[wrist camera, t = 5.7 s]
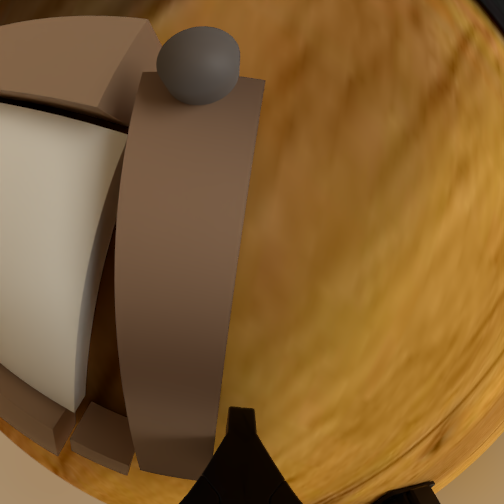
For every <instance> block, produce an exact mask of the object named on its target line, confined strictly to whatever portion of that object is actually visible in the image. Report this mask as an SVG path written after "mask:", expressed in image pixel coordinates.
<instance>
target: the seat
mask: <svg viewBox="0 0 504 504" xmlns="http://www.w3.org/2000/svg"><path fill="white" fill-rule="evenodd" d="M161 48H162V45H161V44H160V42H159V40H158V38H157V36H156V34H155V32H154V30H153V28H152V26H151V24H150V22H149V20H148V19H141V18H130V17H115V16H69V17H55V18H45V19H36V20H30V21H23V22H18V23H12V24H8V25H3V26H0V98H7V99H13V100H19V101H24V102H30V103H35V104H40V105H45V106H49V107H54V108H58V109H63V110H67V111H71V112H75V113H79V114H83V115H87V116H91V117H95V118H99V119H102V120H106V121H109V122H113V123H116V124H120V125H123V126H127V127H129V126H130V121H131V116H132V112H133V107H134V103H135V99H136V95H137V91H138V87H139V83H140V80H141V76H142V72H157V68H156V61H157V56H158V54H159V51H160V50H161ZM127 136H128V135H127V134H124V133H121V132H118V131H114V130H111V129H108V128H104V127H101V126H97V125H94V124H90V123H87V122H83V121H79V120H75V119H72V118H68V117H64V116H60V115H56V114H51V113H47V112H43V111H39V110H34V109H29V108H25V107H20V106H15V105H9V104H4V103H0V417H1V418H3V419H4V420H5V421H6V422H8V423H9V424H10V425H11V426H13V427H14V428H15V429H17V430H18V431H20V432H21V433H22V434H24V435H25V436H27V437H28V438H29V439H31V440H32V441H34V442H35V443H37V444H39V445H40V446H42V447H43V448H45V449H46V450H48V451H50V452H51V453H53V454H55V455H56V456H58V455H59V454H60V452H61V450H62V448H63V446H64V444H65V442H66V441H67V439H68V437H69V435H70V433H71V432H72V430H73V428H74V426H75V424H76V410H77V408H78V406H79V405H80V403H81V401H82V400H83V398H84V397H85V392H86V376H87V364H88V354H89V345H90V337H91V330H92V323H93V317H94V311H95V305H96V300H97V295H98V290H99V285H100V280H101V275H102V271H103V267H104V262H105V258H106V254H107V250H108V246H109V243H110V239H111V235H112V232H113V228H114V225H115V222H116V218H117V210H118V199H119V190H120V182H121V174H122V167H123V160H124V153H125V147H126V142H127ZM70 442H71V450H72V451H74V452H76V453H77V454H79V455H81V456H83V457H85V458H87V459H89V460H92V461H94V462H96V463H98V464H100V465H102V466H105V467H107V468H109V469H112V470H114V471H117V472H119V473H122V474H124V475H128V472H129V468H130V465H131V462H132V459H133V455H134V452H135V448H134V444H133V440H132V436H131V431H130V426H129V422H128V418H126V417H124V416H122V415H119V414H117V413H115V412H113V411H110V410H108V409H106V408H104V407H102V406H100V405H98V404H96V403H94V402H92V401H91V403H90V404H89V406H88V408H87V409H86V411H85V413H84V415H83V416H82V418H81V420H80V422H79V424H78V425H77V427H76V429H75V431H74V433H73V434H72V436H71V438H70Z"/></svg>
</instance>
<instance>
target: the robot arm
mask: <svg viewBox="0 0 504 504" xmlns="http://www.w3.org/2000/svg"><path fill="white" fill-rule="evenodd" d="M284 480H285V479H284V477H283V476H282V474H281V473H280V471H279V470H278V468H277V466H276V465H275V463H274V462H273V460H272V458H271V457H270V455H269V454H268V452H267V450H266V449H265V447H264V445H263V444H262V442H261V440H260V439H259V437H258V435H257V431H256V421H255V411H254V409H253V408H241V407H233V406H231V407H229V410H228V418H227V425H226V436H225V437H224V439H223V441H222V442H221V444H220V446H219V447H218V449H217V451H216V452H215V454H214V455H213V457H212V459H211V460H210V462H209V463H208V465H207V467H206V468H205V470H204V471H203V473H202V476H200V477H199V479H198V480H197V482H196V483H195V485H194V486H193V487H192V489H191V490H190V491H189V493H188V494H187V495H186V496H185V497H184V499H183V500H182V501H181V502H180V503H179V504H303V503H302V502H301V501H300V500H299V499H298V497H297V496H296V495H295V493H294V492H293V490H292V489H291V488H290V486H289V485H288V483H287V482H286V481H284ZM434 485H435V483H434V481H431V482H427V483H424V484H420V485H417V486H413V487H409V488H405V489H400V490H396V491H392V492H390V493H388V494H387V495H385V496H384V497H383V498H381V499H380V500H379V501H377V502H376V503H374V504H440V503H439V501H438V499H437V497H436V495H435V494H434V492H433V490H432V489H431V487H433V486H434Z"/></svg>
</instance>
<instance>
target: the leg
mask: <svg viewBox="0 0 504 504" xmlns="http://www.w3.org/2000/svg"><path fill="white" fill-rule="evenodd" d="M239 66H240V50H239V47H238V44H237V43H236V41H235V40H234V38H233V37H232V36H231V35H229V34H228V33H226V32H225V31H223V30H221V29H217V28H214V27H206V26H204V27H193V28H189V29H186V30H183V31H181V32H179V33H177V34H175V35H174V36H173V37H171V38H170V39H169V40H168V41H167V42H166V43H165V44H164V45H163V47H162V48H161V50H160V51H159V54H158V56H157V61H156V68H157V72H142V76H141V80H140V83H139V87H138V91H137V95H136V99H135V103H134V107H133V112H132V116H131V121H130V126H129V131H128V136H127V142H126V147H125V153H124V160H123V167H122V174H121V182H120V190H119V199H118V210H117V223H116V240H115V315H116V332H117V345H118V355H119V364H120V373H121V380H122V387H123V394H124V400H125V406H126V411H127V417H128V422H129V426H130V431H131V436H132V440H133V444H134V448H135V452H136V456H137V460H138V464H139V467H140V470H142V471H146V472H151V473H155V474H160V475H165V476H171V477H177V478H183V479H190V480H198V479H199V477H200V476H202V473H203V471H204V470H205V468H206V467H207V465H208V463H209V462H210V460H211V459H212V457H213V451H214V442H215V433H216V425H217V416H218V408H219V400H220V391H221V383H222V375H223V367H224V360H225V352H226V344H227V336H228V329H229V321H230V314H231V306H232V299H233V292H234V284H235V277H236V270H237V263H238V256H239V249H240V242H241V235H242V228H243V221H244V214H245V207H246V201H247V194H248V187H249V181H250V174H251V167H252V161H253V154H254V148H255V142H256V135H257V129H258V123H259V116H260V110H261V104H262V98H263V92H264V86H265V80H261V79H254V78H247V77H239Z"/></svg>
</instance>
